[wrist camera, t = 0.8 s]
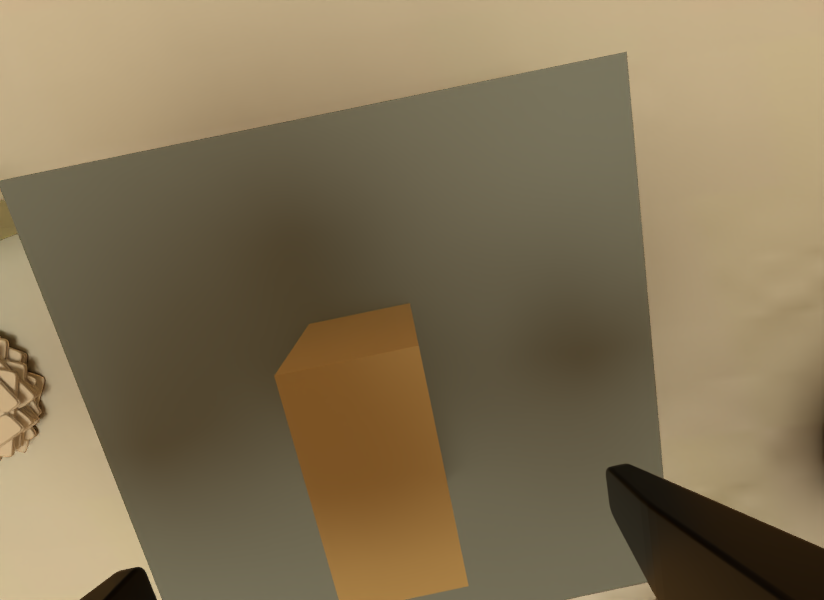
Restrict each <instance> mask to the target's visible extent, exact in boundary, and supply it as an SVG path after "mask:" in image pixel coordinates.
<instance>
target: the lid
mask: <svg viewBox="0 0 824 600" xmlns="http://www.w3.org/2000/svg"><path fill="white" fill-rule="evenodd" d="M0 189H1V192H2V194H3V197H4V199H5V202H6V204H7V207H8V210H9V212H10V215H11V217H12V220H13V222H14V225H15V227H16V230H17V232H18V235H19V237H20V240H21V243H22V245H23V248H24V250H25V253H26V255H27V258H28V260H29V263H30V265H31V268H32V270H33V273H34V276H35V278H36V281H37V283H38V286H39V288H40V291H41V293H42V296H43V298H44V301H45V303H46V306H47V308H48V311H49V314H50V316H51V319H52V321H53V324H54V326H55V329H56V331H57V334H58V336H59V339H60V341H61V344H62V347H63V349H64V352H65V354H66V357H67V359H68V362H69V364H70V367H71V369H72V372H73V374H74V377H75V380H76V382H77V385H78V387H79V390H80V392H81V395H82V397H83V400H84V402H85V405H86V407H87V410H88V413H89V415H90V418H91V420H92V423H93V425H94V428H95V430H96V433H97V435H98V438H99V440H100V443H101V446H102V448H103V451H104V453H105V456H106V458H107V461H108V463H109V466H110V468H111V471H112V473H113V476H114V478H115V481H116V484H117V486H118V489H119V491H120V494H121V496H122V499H123V501H124V504H125V506H126V509H127V511H128V514H129V517H130V519H131V522H132V524H133V527H134V529H135V532H136V534H137V537H138V539H139V542H140V544H141V547H142V550H143V552H144V555H145V557H146V560H147V562H148V565H149V567H150V570H151V572H152V575H153V577H154V580H155V583H156V585H157V588H158V590H159V593H160V595H161V598H162V600H567V599H571V598H576V597H581V596H585V595H590V594H595V593H600V592H604V591H609V590H614V589H618V588H623V587H628V586H633V585H637V584H642V583H647V580H646V578H645V576H644V574H643V572H642V570H641V569H640V567H639V565H638V563H637V561H636V559H635V557H634V555H633V553H632V552H631V550H630V548H629V546H628V544H627V542H626V540H625V538H624V536H623V535H622V533H621V531H620V529H619V527H618V525H617V523H616V521H615V519H614V517H613V515H612V512H611V509H610V505H609V498H608V490H607V482H606V469H607V468H608V467H610V466H615V465H620V464H625V463H628V464H631V465H633V466H636V467H638V468H640V469H642V470H645V471H647V472H649V473H652V474H654V475H656V476H659V477H661V478H663V466H662V455H661V443H660V432H659V420H658V409H657V397H656V386H655V374H654V362H653V351H652V339H651V328H650V316H649V305H648V293H647V282H646V270H645V259H644V247H643V236H642V224H641V212H640V201H639V189H638V178H637V166H636V155H635V143H634V132H633V120H632V109H631V97H630V86H629V74H628V62H627V52H623V53H619V54H614V55H609V56H604V57H599V58H594V59H589V60H585V61H580V62H575V63H570V64H565V65H560V66H555V67H551V68H546V69H541V70H536V71H531V72H526V73H521V74H517V75H512V76H507V77H502V78H497V79H492V80H487V81H482V82H478V83H473V84H468V85H463V86H458V87H453V88H448V89H444V90H439V91H434V92H429V93H424V94H419V95H414V96H410V97H405V98H400V99H395V100H390V101H385V102H380V103H375V104H371V105H366V106H361V107H356V108H351V109H346V110H341V111H337V112H332V113H327V114H322V115H317V116H312V117H307V118H303V119H298V120H293V121H288V122H283V123H278V124H273V125H268V126H264V127H259V128H254V129H249V130H244V131H239V132H234V133H230V134H225V135H220V136H215V137H210V138H205V139H200V140H196V141H191V142H186V143H181V144H176V145H171V146H166V147H162V148H157V149H152V150H147V151H142V152H137V153H132V154H127V155H123V156H118V157H113V158H108V159H103V160H98V161H93V162H89V163H84V164H79V165H74V166H69V167H64V168H59V169H55V170H50V171H45V172H40V173H35V174H30V175H25V176H20V177H16V178H11V179H6V180H1V181H0ZM663 479H664V478H663Z"/></svg>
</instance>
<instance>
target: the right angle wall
mask: <svg viewBox="0 0 824 600" xmlns="http://www.w3.org/2000/svg"><path fill="white" fill-rule="evenodd" d="M15 234H18V232H17V230H16V227H15V225H14V222H13V220H12V217H11V215H10V212H9V210H8V207H7V204H6V202H5V201H0V240H2V239H5V238H7V237H10V236H13V235H15ZM26 363H27V354H26V353H24V352H22V351H19V350H16V349H14V348H11V347H9V341H8V340H7V339H3V338H1V336H0V461H1V458H2V456H3V457H11V456H12V455H14V453H15V451H19V452H26V451H27V447H28V443H29V440H30V439H33V438H34V437H36V436H37V434H36V431H35V430H34V428H33V426H34V425H35V424H37V423H38V422H39V420H40V419H39V418H38V415H40V414H42V413H41V409H40V407H39V401H40V398H41V394H42V390H43V386H44V382H45V379H44V377H42V376H40V375H37V374H34V373H31V372H27V365H26Z"/></svg>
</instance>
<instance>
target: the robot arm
mask: <svg viewBox="0 0 824 600" xmlns="http://www.w3.org/2000/svg"><path fill="white" fill-rule="evenodd" d="M606 482H607V490H608V498H609V505H610V509H611V512H612V515H613V517H614V519H615V521H616V523H617V525H618V527H619V529H620V531H621V533H622V535H623V536H624V538H625V540H626V542H627V544H628V546H629V548H630V550H631V552H632V553H633V555H634V557H635V559H636V561H637V563H638V565H639V567H640V569H641V570H642V572H643V574H644V576H645V578H646V580H647V582H648V584H649V585H650V587H651V589H652V591H653V593H654V594H655V596H656V598H657V600H824V548H821V547H819V546H817V545H815V544H812V543H810V542H808V541H805V540H803V539H801V538H798V537H796V536H794V535H792V534H789V533H787V532H785V531H782V530H780V529H778V528H776V527H773V526H771V525H769V524H766V523H764V522H762V521H759V520H757V519H755V518H753V517H750V516H748V515H746V514H743V513H741V512H739V511H737V510H734V509H732V508H730V507H727V506H725V505H723V504H720V503H718V502H716V501H714V500H711V499H709V498H707V497H704V496H702V495H700V494H698V493H695V492H693V491H691V490H688V489H686V488H684V487H681V486H679V485H677V484H675V483H672V482H670V481H668V480H665V479H663V478H661V477H659V476H656V475H654V474H652V473H649V472H647V471H645V470H642V469H640V468H638V467H636V466H633V465H631V464H628V463H625V464H620V465H615V466H610V467H608V468H607V469H606ZM80 600H157V599H156V596H155V594H154V591H153V589H152V586H151V584H150V581H149V579H148V576H147V574H146V572H145V570H144V569H142V568H140V567H135V568H130V569H126V570H121V571H118V572H116V573H115V574H113V575H112V576H111V577H109V578H108V579H107V580H105V581H104V582H103V583H101V584H100V585H99V586H97V587H96V588H95V589H93V590H92V591H91V592H89V593H88V594H87V595H85V596H84V597H83V598H81V599H80Z"/></svg>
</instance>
